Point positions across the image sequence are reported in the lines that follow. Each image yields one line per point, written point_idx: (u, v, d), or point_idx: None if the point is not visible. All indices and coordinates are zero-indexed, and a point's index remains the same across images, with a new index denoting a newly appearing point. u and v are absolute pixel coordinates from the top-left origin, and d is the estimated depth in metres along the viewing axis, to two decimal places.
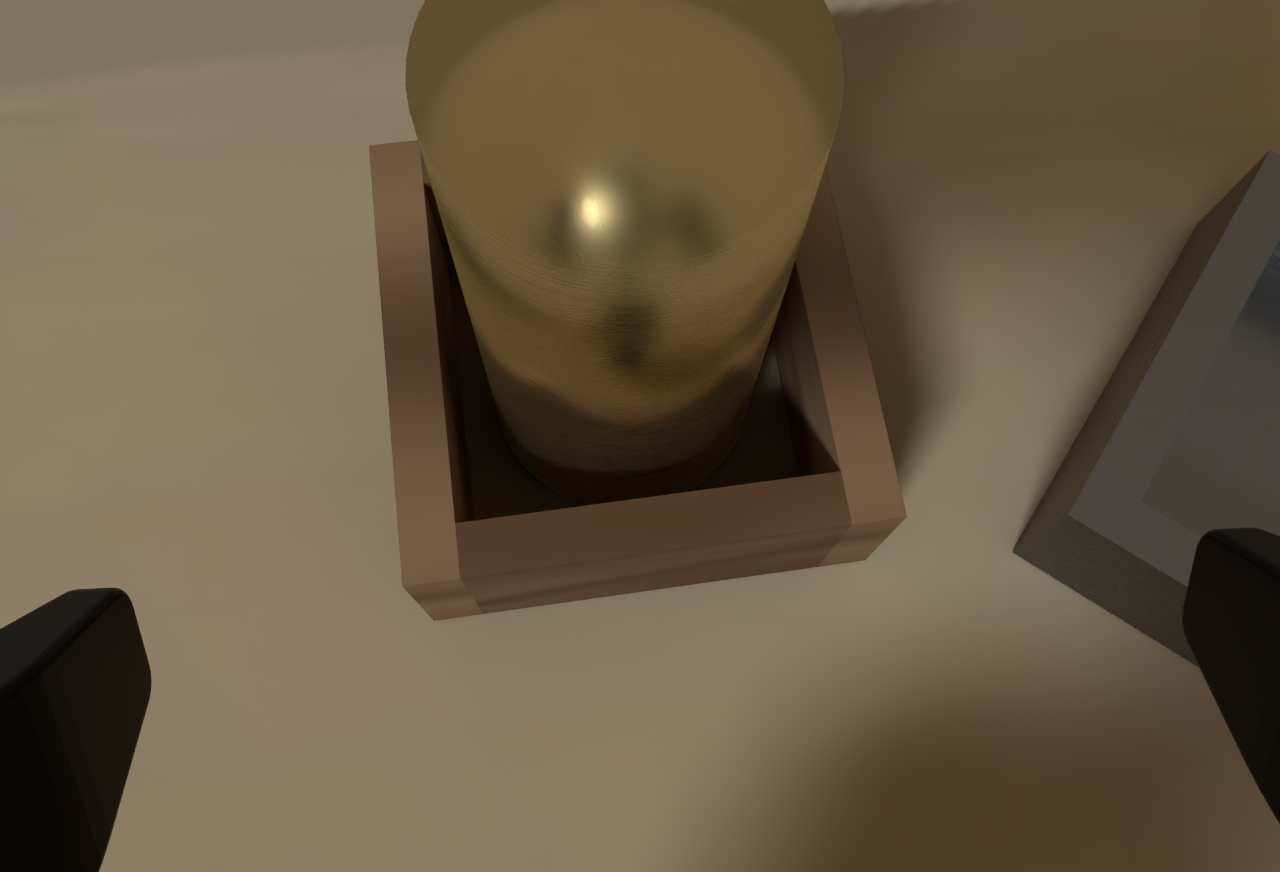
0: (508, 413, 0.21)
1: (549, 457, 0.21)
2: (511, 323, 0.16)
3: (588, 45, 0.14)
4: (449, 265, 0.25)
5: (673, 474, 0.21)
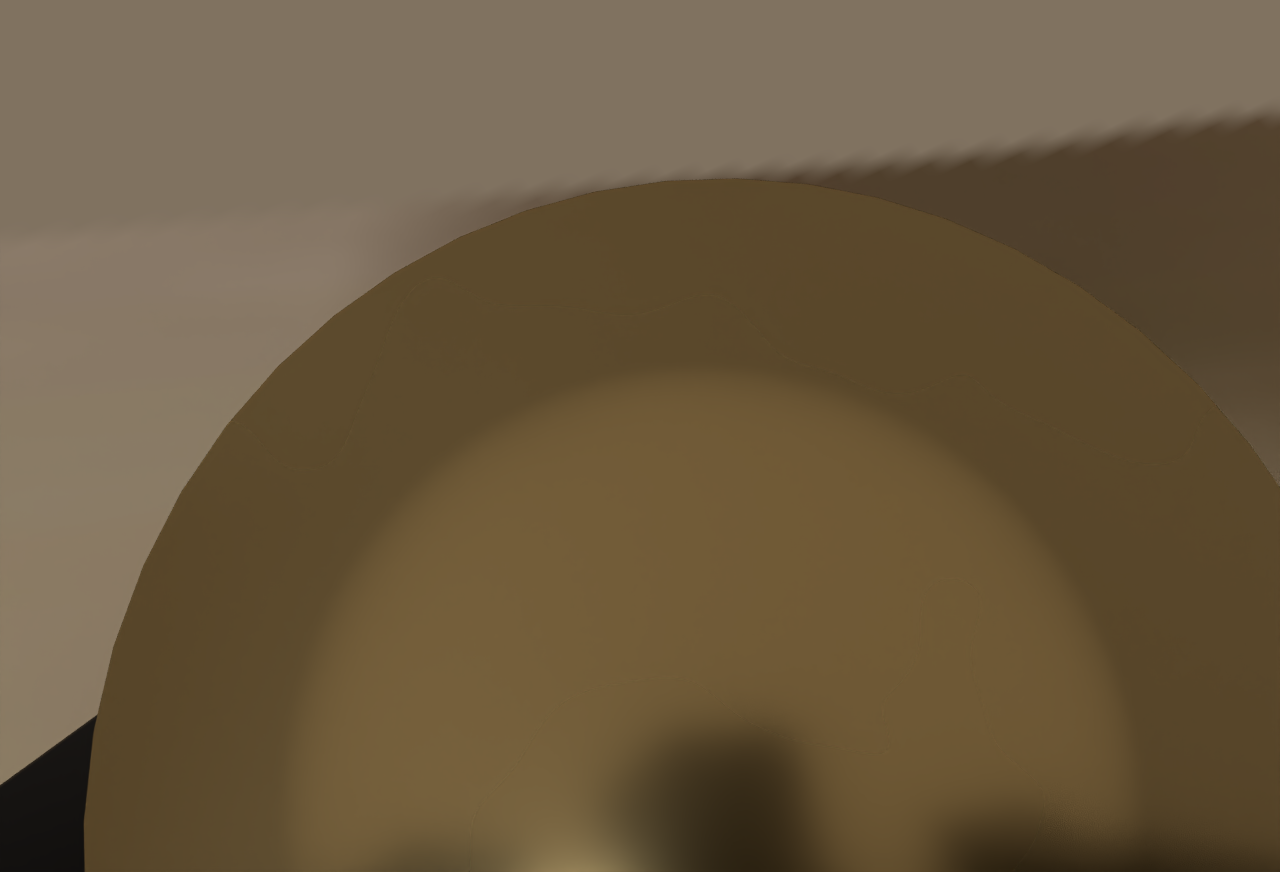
0: None
1: None
2: None
3: (635, 667, 0.05)
4: None
5: None
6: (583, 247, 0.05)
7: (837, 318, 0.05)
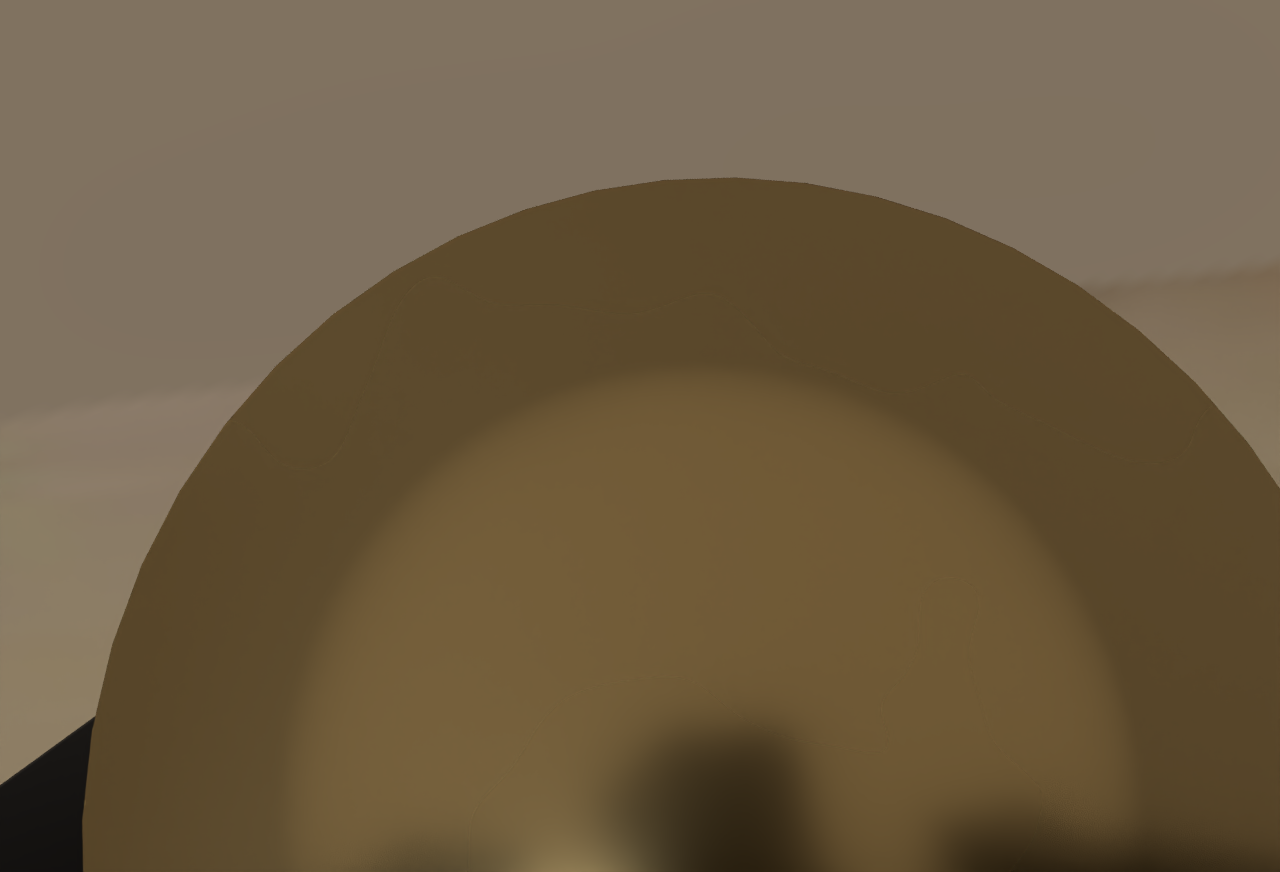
0: None
1: None
2: None
3: (633, 667, 0.05)
4: None
5: None
6: (582, 246, 0.05)
7: (836, 317, 0.05)
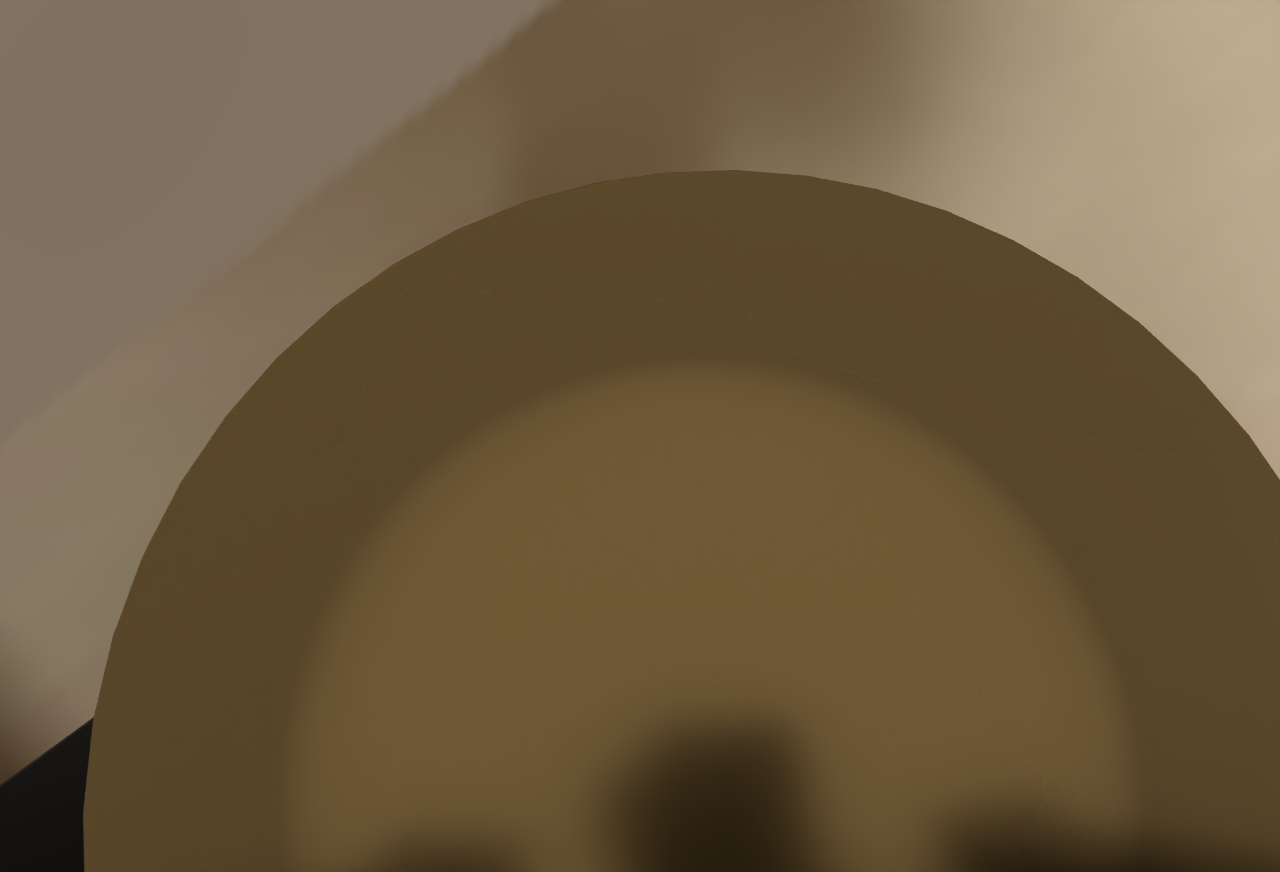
0: None
1: None
2: None
3: (635, 660, 0.05)
4: None
5: None
6: (583, 239, 0.05)
7: (837, 310, 0.05)
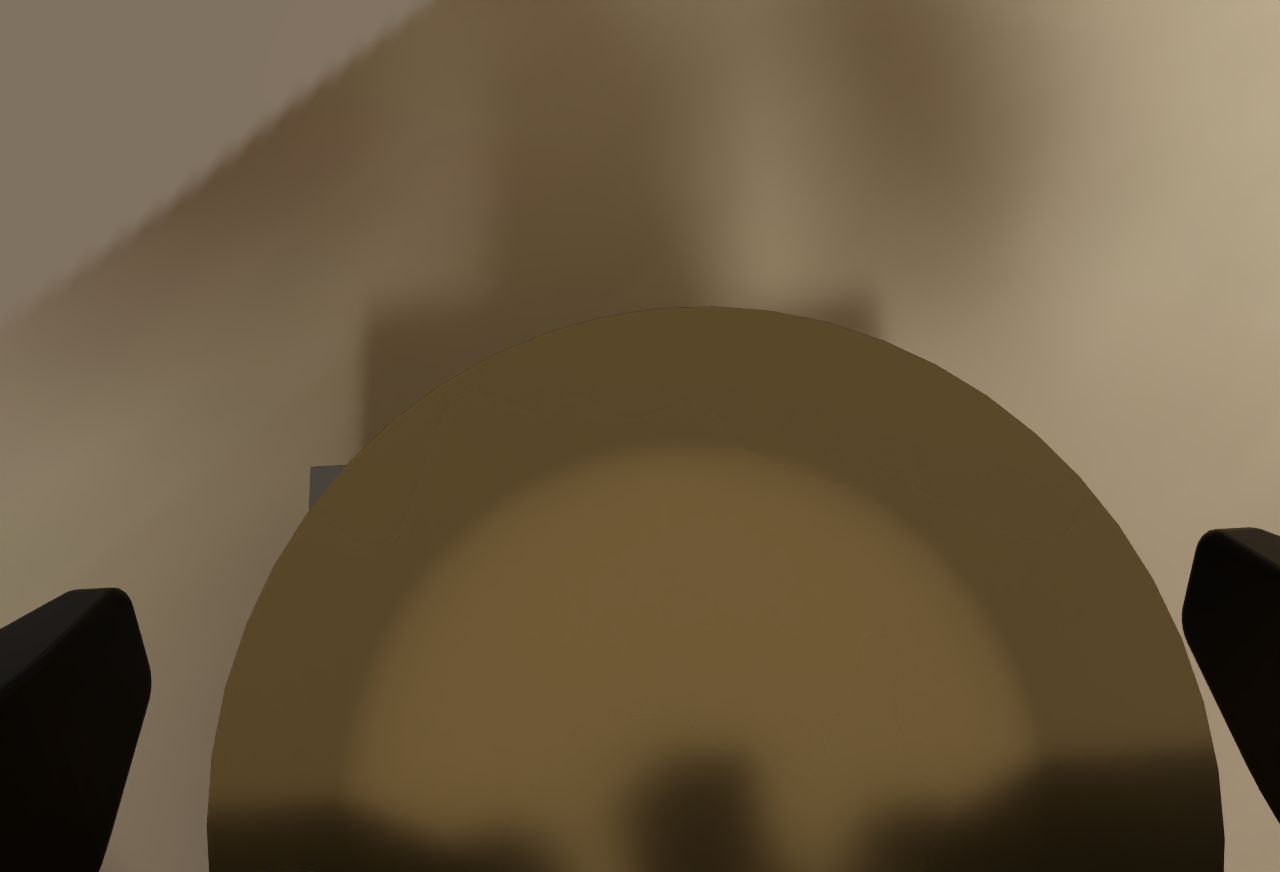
0: None
1: None
2: None
3: (632, 706, 0.06)
4: None
5: None
6: (591, 364, 0.07)
7: (794, 423, 0.07)
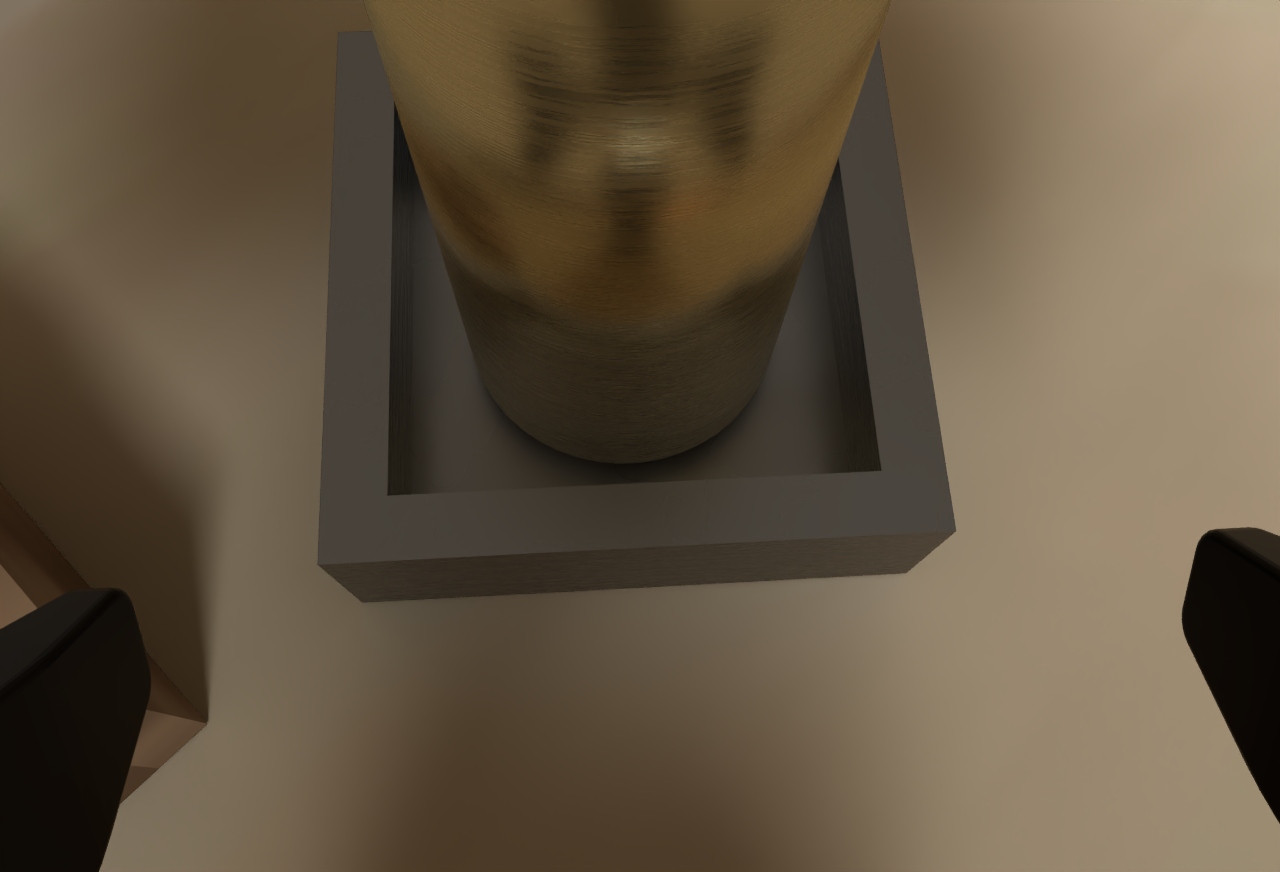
0: (478, 332, 0.16)
1: (530, 390, 0.17)
2: (469, 172, 0.11)
3: None
4: None
5: (687, 412, 0.17)
6: None
7: None
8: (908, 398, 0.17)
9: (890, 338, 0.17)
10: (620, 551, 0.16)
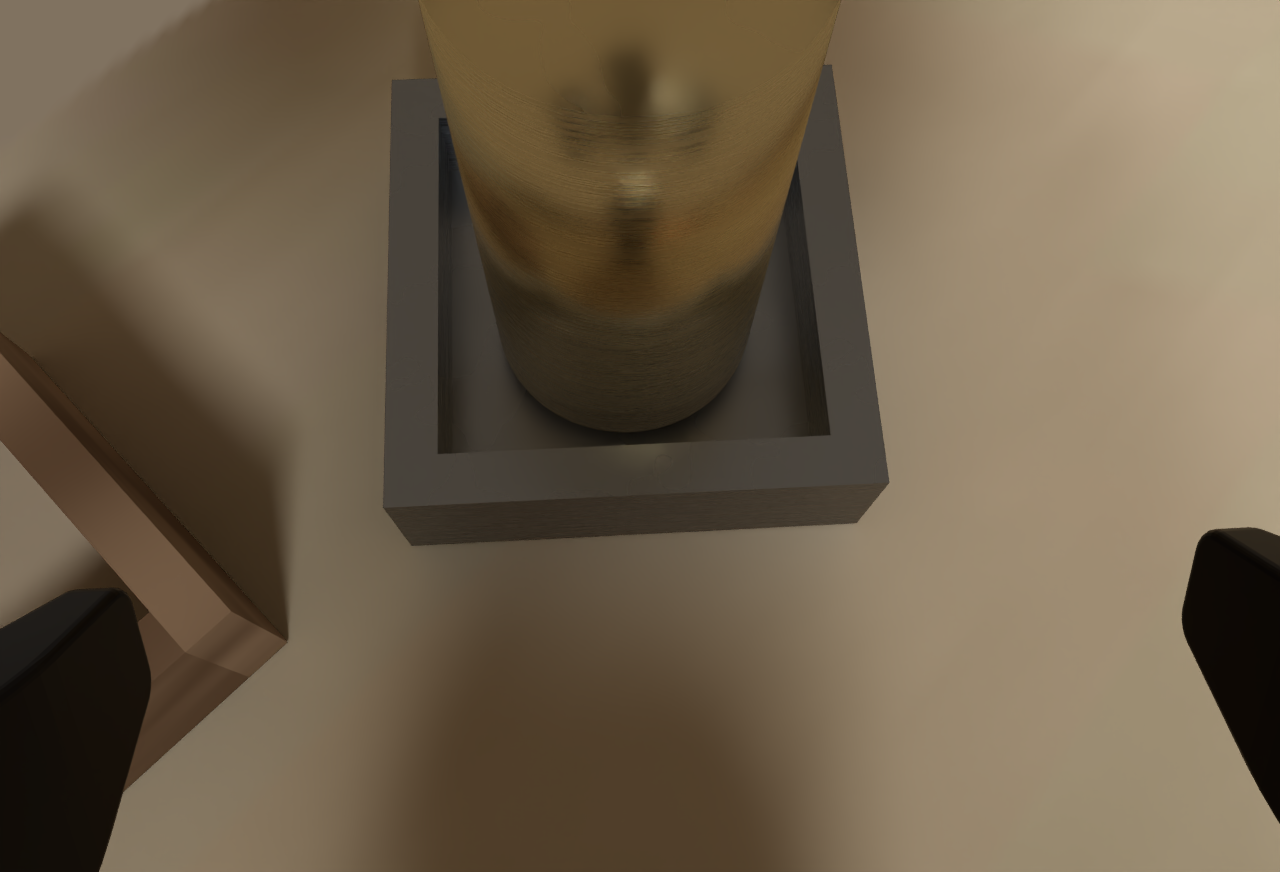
0: (510, 324, 0.20)
1: (551, 370, 0.21)
2: (514, 205, 0.16)
3: None
4: None
5: (675, 389, 0.21)
6: None
7: None
8: (852, 378, 0.21)
9: (840, 330, 0.22)
10: (622, 498, 0.21)
